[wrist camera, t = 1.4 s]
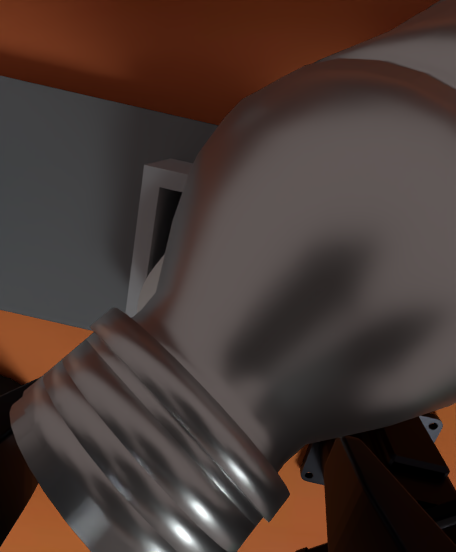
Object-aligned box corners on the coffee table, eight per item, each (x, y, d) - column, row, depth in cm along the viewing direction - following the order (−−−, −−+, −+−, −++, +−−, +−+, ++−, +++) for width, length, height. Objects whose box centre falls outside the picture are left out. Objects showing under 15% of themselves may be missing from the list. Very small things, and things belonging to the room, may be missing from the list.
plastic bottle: (449, 58, 16) (68, 393, 9) (563, -181, 11) (-211, 218, 4) (610, 120, 14) (263, 635, 7) (870, -144, 8) (394, 1342, 1)
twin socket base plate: (288, 359, 21) (297, 432, 16) (-134, 263, 21) (-264, 305, 15) (352, 156, 17) (394, 165, 12) (-168, 37, 17) (-357, -7, 12)
